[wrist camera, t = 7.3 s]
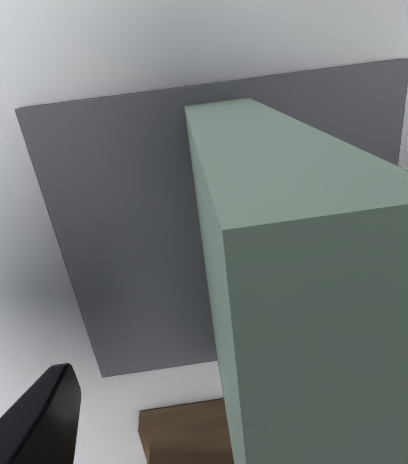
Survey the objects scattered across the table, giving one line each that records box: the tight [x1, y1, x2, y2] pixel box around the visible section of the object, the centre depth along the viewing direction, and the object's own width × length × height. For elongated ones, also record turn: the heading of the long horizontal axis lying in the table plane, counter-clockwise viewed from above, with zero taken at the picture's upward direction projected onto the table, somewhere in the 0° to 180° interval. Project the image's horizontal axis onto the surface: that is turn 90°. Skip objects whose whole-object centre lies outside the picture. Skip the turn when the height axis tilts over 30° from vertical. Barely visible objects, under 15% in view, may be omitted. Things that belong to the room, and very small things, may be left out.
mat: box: [15, 58, 408, 378], centre depth 13 cm, size 11×12×1 cm
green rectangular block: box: [184, 98, 408, 464], centre depth 9 cm, size 10×2×9 cm, turn 7°
